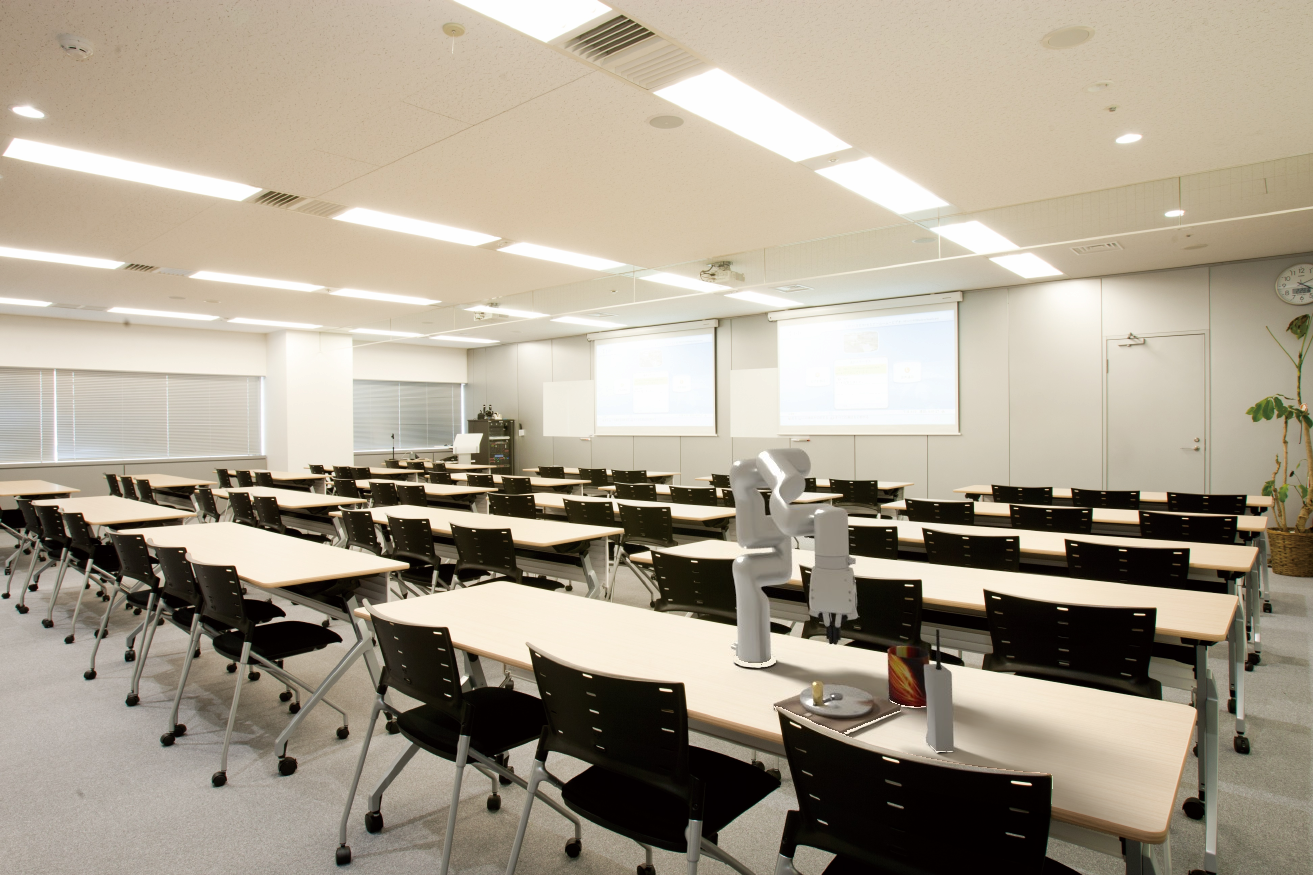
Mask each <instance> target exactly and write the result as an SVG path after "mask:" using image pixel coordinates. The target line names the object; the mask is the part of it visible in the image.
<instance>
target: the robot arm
mask: <svg viewBox="0 0 1313 875" xmlns="http://www.w3.org/2000/svg"><path fill="white" fill-rule="evenodd" d="M811 465H812V463H811V458H810V456H809V454H808V453H806V451H805V450H804V449H801V448H799V447H786V448H783V447H782V448H769V449H765V450H763V451H761V452H760V453H759V454H758V455H757V457H755V458H744V459H739V460H737V461H734V463H733V464H732V465H731V466H730V470H729V475H728V476H729V484H730V485H729V486H730V489H731V491H732V495H733V498H734V502H735V503H734V504H735V505H734V506H735V529H736V533H735V534H736V539H737V540H736V541H737V544H738V546H739V547H740V548H742V549H746V550H759V549H770V548H771V551H769V552H767V551H766V552H754V553H746V554H745V553H744V554H741V555H739V556H737V557H736V558H735V559H734V560H733V562H732V565H731V566H732V576H733V580H734V586H735V594H736V596H735V597H736V598H735V599H736V619H737V620H736V623H737V640H735V641H734V642H733V644H731V646H730V649H731V650H733V651H735V655H736V656H738V658H739V660H741V661H744V662H748V663H763V662H767V661H769V660H770V659H771V654H772V650H771V649H772V648H771V647H772V646H771V613H770V612H771V611H770V605H771V604H770V600H769V598H768V596H767V594H766V593H765V592H764V591H763V590H762V587H766V586H767V587H768V586H775V585H783V584H787V583H788V582H789V581H790V580H791V578H792V573H793V556H792V555H793V551H792V537H793V538H795V537H796V538H797V537H808V536H809V537H811V536H813V537H814V539H813V540H814V565H813V566H812V568H811V573H810V579H809V580H810V581H809V595H808V598H809V602H808V604H809V611H808V615H810V616H811V617H816V618H818V619H819V620H820V621H821V622H822V623H823V624H824V625H825V627H826V628H825V629H826V630H825V632H826V634H825V635H826V640H828V644H829V645H835V646H837V644H838V642H839V641H841V640H842V630H841V629H842V627H841V626H842V625H843V624H844V623H845V622H846V621H849V620H850V621H851V620H856V619H858V615H859V614H858V611H857V606H858V597H857V584H856V577H855V572H854V568H853V567H850V566H851V565H856V563H857V562H856V560H857V559H856V558H854V557H853V556H852V557H851V556H850V554H849V553H850V552H849V550H850V549H849V548H850V546H849V542H850V541H849V516H848V511H847V510H846V509H845V508H843V507H836V506H834V505H832V504H830V503H803V504H801V503H800V504H791V503H792V502H795V501H796V500H797V499H799V498H800V497H801V496H802V494H803V493H804V492H805V490H806V489H805V488H806V480H805V479H806V478H807V476H809V474H810V471H811ZM762 488H763V489H765V488H769V489H770V490H771V494H770V497H769V506H768V507H769V512H770V514H769V515H766V508H765V506H766V504H765V498H764V497H763V495H762V493H761V492H760V490H758V489H762ZM832 614H835V622H833V620H832ZM761 665H762V664H761Z"/></svg>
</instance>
